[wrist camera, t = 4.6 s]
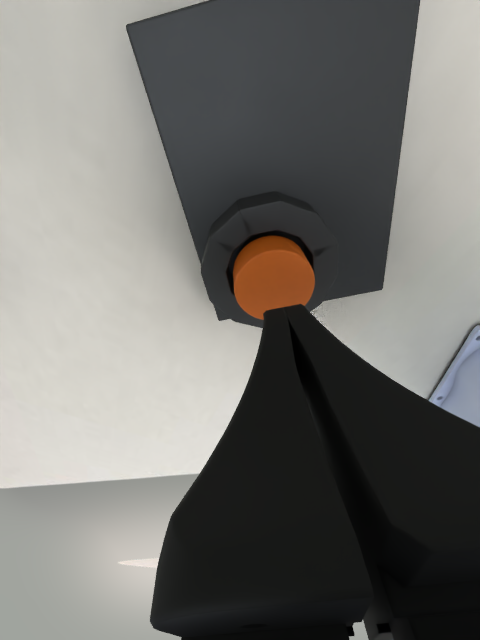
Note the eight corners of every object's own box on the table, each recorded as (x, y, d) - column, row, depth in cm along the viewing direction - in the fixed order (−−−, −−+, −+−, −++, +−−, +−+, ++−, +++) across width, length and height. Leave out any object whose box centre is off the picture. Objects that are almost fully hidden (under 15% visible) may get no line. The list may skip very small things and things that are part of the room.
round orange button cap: (307, 294, 14) (316, 313, 13) (241, 307, 15) (242, 327, 13) (303, 227, 12) (313, 241, 11) (225, 244, 13) (225, 260, 11)
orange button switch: (372, 279, 17) (398, 307, 15) (219, 308, 18) (217, 340, 16) (406, -45, 10) (472, -103, 7) (135, 34, 10) (105, 7, 8)
